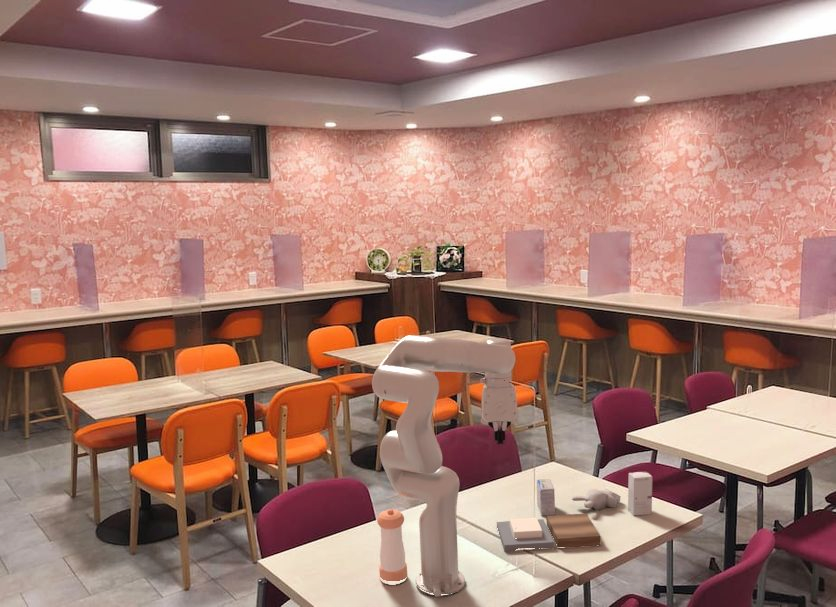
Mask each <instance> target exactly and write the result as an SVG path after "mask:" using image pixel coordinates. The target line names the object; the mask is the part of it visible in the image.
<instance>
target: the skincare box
mask: <svg viewBox="0 0 836 607" xmlns="http://www.w3.org/2000/svg"><path fill="white" fill-rule="evenodd" d="M627 484H628V486H627V489H628V492H627V509H628V511H629V513H630V514H631V515H632V516H644V515H646V516H647V515H652V512H653V511H652V510H653V509H652V508H653V507H652V506H653V476H652V475H651V474H650V473H649V472H647V471H636V472H629V473H628V483H627Z"/></svg>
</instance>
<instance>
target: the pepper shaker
mask: <svg viewBox="0 0 836 607" xmlns="http://www.w3.org/2000/svg"><path fill="white" fill-rule="evenodd" d="M404 521H405V516H404V514H403V513H402V512H401V511H400V510H396V509H392V508H388V509H387V510H382V511H381V512H379V514H378V516H377V519H376V523H377V525H378V526H379V527H380V548H379V560H380V561H379V562H380V564H379V566H378V567H379V570H378V571H379V578H380V577H381V578H382V579H383V580H386V581H400V580H403V579H405V578H406V577H407V578H408V564H407V562H406V551H405V547H404V541H403V532H402V531H403V530H402V528H403V527H402V526H403V524H404Z"/></svg>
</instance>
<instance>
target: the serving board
mask: <svg viewBox="0 0 836 607" xmlns="http://www.w3.org/2000/svg"><path fill="white" fill-rule="evenodd" d="M546 526H547V528H549V529H548V530H550V531H549V532H551V533H550V534H552V535H551V536H553V537H552V538H554V539H553V540H555V541H554V543H555V542H556V543H555V545H556V544H557V546H556V547H575V548H582V547H581V546H591V547H601V535H600V533H599V531H598V529H597V528H596V526H595V525H594V523H593V522H592V519H590V516H589V514H587V513H571V514H557V515H556V514H555V515H548V516H546ZM597 545H599V546H597Z"/></svg>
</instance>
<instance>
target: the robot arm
mask: <svg viewBox="0 0 836 607" xmlns="http://www.w3.org/2000/svg"><path fill="white" fill-rule="evenodd" d="M511 344H512V343H511V341H510V340H509V339H507V338H503V337H493V338H489V339H487V340H486V341H481V342H478V341H473V340H468V339H460V338H459V339H458V338H448V337H438V336H426V335H416V334H415V335H413V334H409V335H406V336H405V337H402V338H401V339H399V341H398V342H397V343H396V344H395V345H394V346H393V348H391V350H390V351H389V352H388V354H386V356H385V357H384V358H383V360H382V361H381V362H380V363H379V365H378V366H377V368H376V370H375V371H374V373H373V375H372V379H371V386H372V391H373V393H374V394H375V396H377V398H380V399H382V400H385V401H389V402H395V403H396V402H398V403H402V404H407V405H406V407H405V409H404V411H403V412H402V413H401V415H400V416H399V417H398V419H397V421H396V426H395V429H393V430H390V431H388V432H386V434H384V436H383V437H382V439H381V442H380V446H379V458H380V462H381V464H382V467H383V469H384V471H385V474H386V475H387V478H388V480H389V482H390V484H391V486H392V488H393V490H394V491H395V492H396V493H397V495H398V496H401V497H405V498H408V499H412V500H416V501H419V502H422V503H425V504H426V507H425V508H424V509H423V511H422V512H421V513H420V516H419V522H418V524H419V525H418V526H419V527H418V528H419V548H420V551H419V552H420V569H421V571H420V572H419V573H418V574H417V576H416V578H415V585H416V584H417V586H418V587H419V588H421V589H422V590H424V591H426V592H429V593H433V594H434V595H435V596H434V597H436V598H439V597H442V596H441V594H451V593H455V592H457V593H459V592H460V591H461V590H463V588H464V586H465V584H466V582H465V580H466V578H465V576H464V574H463V573H462V572H461V571H459V556H458V555H459V554H458V553H459V552H458V526H457V523H458V522H457V510H458V509H457V507H458V496H459V492H460V491H459V490H460V479H459V478H460V477H459V476H458V474H457V472H455V471H454V470H452V469H451V468H448V467H447V466H443V453H442V449H441V446H440V444H439V442H438V440H437V436H436V434H435V431H434V428H433V425H432V421H431V420H432V415H433V411H434V409H435V408H434V407H435V405H436V403H437V399H438V396H439V391H440V382H439V379H438V377H437V376H436V375H435V374H434V373H433V372H436V373H437V372H439V373H440V372H441V373H442V372H443V373H445V372H453V373H470V374H471V373H474V374H475V373H484V377H481V378H480V384H484V385H483V388H482V393H481V406H480V409H481V410H480V411H481V417H480V418H481V419H480V423H481V425H484V426H485V425H486V426H489V427H490V428H491V429H492V430H493V440H494V441H495V442H496V443H497V445H504V441H506V431H507V429H508V427H510V426H511V425H513V424H517V423H518V422H519V420H518V414H519V412H518V399H517V392H516V387H515V385H514V384H512V383H509V382H512V379H513V378H512V370H513V369H514V366H515V364H516V355H515V351H514V350H513V348H512V345H511ZM504 380H506V381H504ZM508 381H509V382H508ZM498 423H500V426H498ZM421 575H422V576H421ZM417 586H416V587H417ZM421 586H423V587H421ZM459 590H460V591H459ZM455 594H456V593H455Z"/></svg>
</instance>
